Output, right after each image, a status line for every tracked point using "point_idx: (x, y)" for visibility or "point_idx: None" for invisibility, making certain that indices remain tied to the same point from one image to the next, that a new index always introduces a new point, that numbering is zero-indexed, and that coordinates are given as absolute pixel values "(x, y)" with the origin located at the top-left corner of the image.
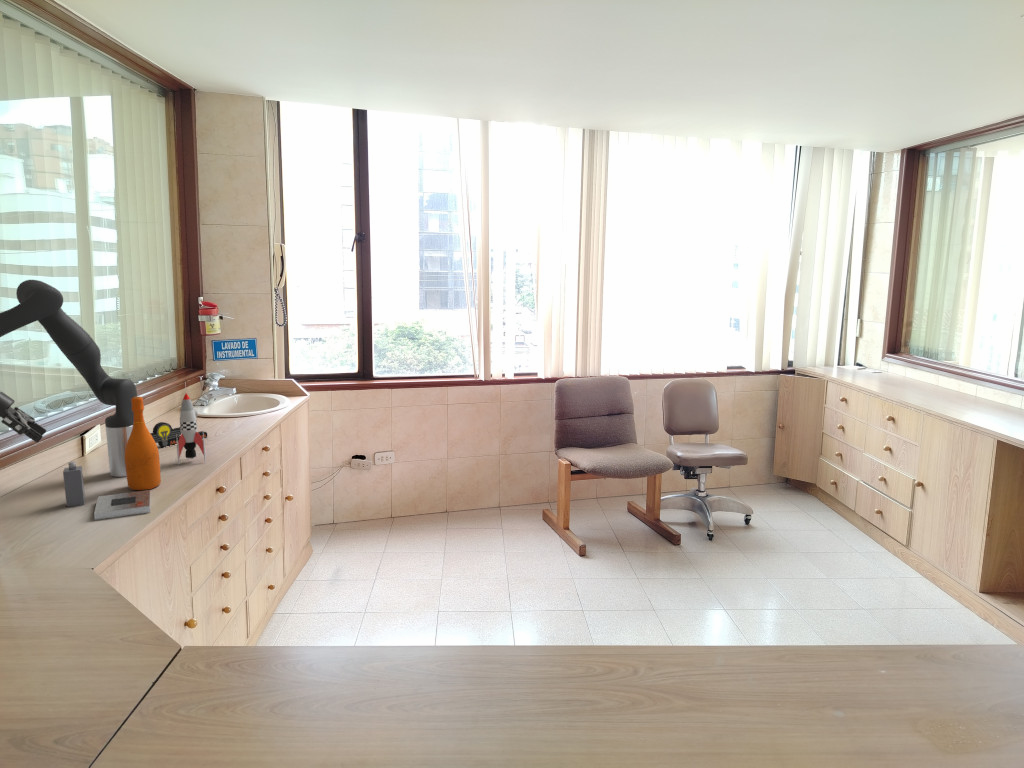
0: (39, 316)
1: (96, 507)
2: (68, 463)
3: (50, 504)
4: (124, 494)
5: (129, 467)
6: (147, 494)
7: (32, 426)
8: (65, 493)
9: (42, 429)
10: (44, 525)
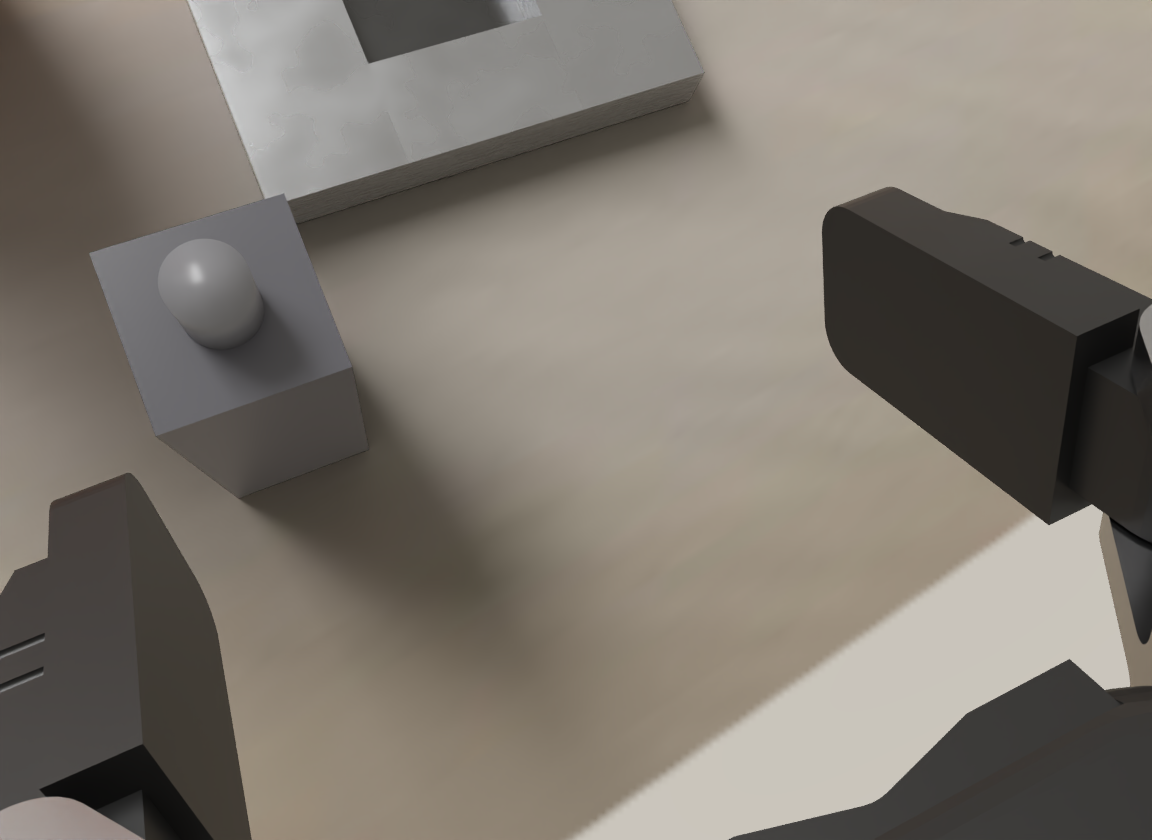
0: None
1: (567, 107)
2: (236, 313)
3: (274, 640)
4: (236, 6)
5: None
6: None
7: (209, 830)
8: (362, 424)
9: (150, 547)
10: (783, 409)
